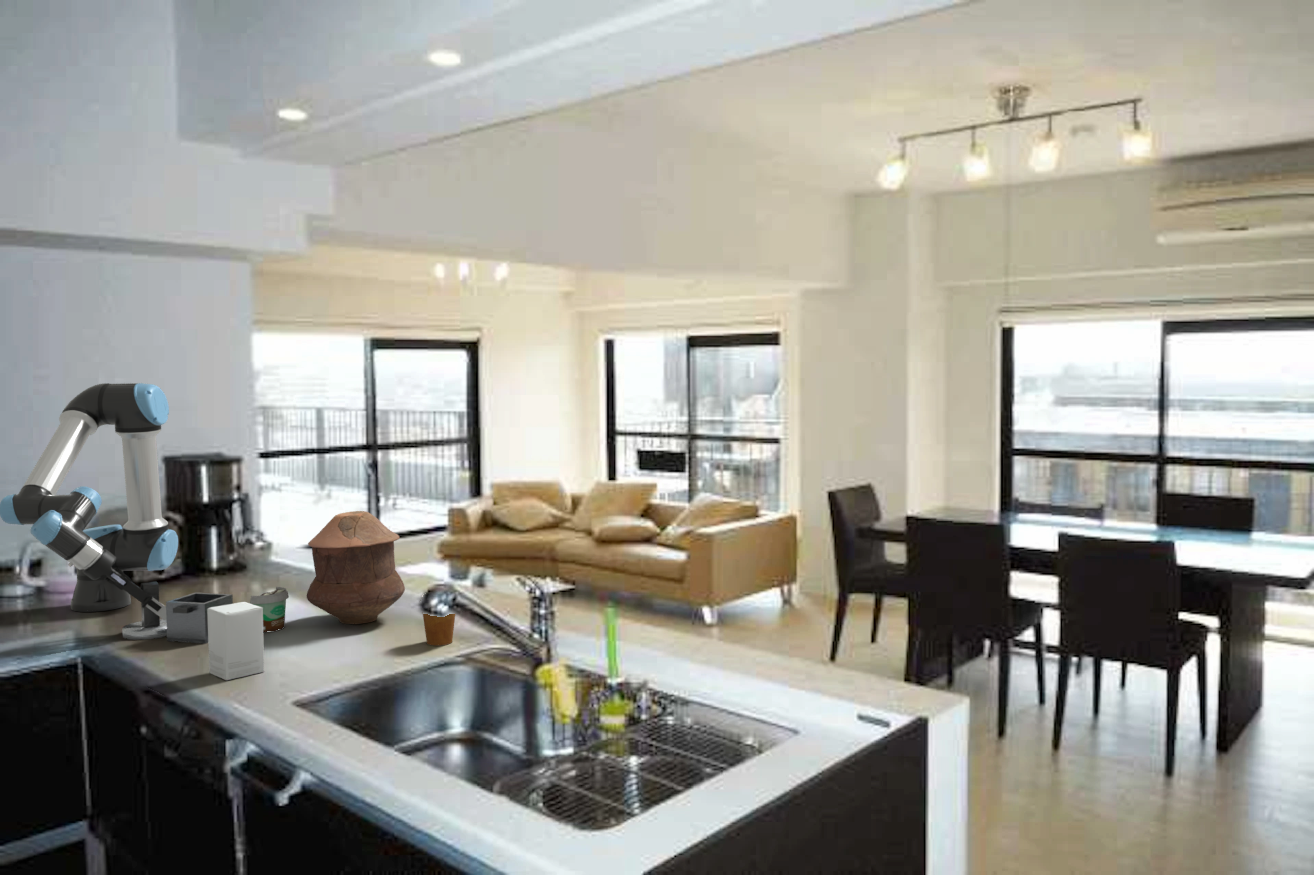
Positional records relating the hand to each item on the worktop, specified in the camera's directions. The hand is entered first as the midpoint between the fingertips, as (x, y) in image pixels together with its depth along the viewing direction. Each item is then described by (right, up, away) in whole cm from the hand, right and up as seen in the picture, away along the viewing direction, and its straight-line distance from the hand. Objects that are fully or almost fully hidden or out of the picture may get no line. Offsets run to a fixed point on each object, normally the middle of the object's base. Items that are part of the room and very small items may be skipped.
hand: (166, 614), depth 254 cm
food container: (+28, -4, +2) cm, 28 cm away
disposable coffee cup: (+74, -5, -10) cm, 75 cm away
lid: (-3, -4, -2) cm, 6 cm away
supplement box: (+34, -7, -36) cm, 50 cm away
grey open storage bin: (+12, -5, -6) cm, 14 cm away
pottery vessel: (+47, -4, +11) cm, 48 cm away
